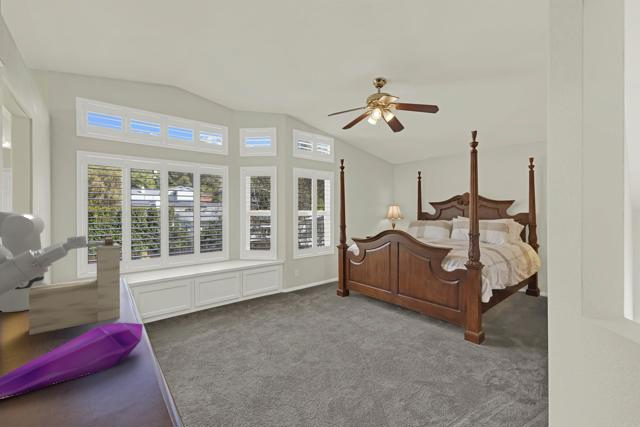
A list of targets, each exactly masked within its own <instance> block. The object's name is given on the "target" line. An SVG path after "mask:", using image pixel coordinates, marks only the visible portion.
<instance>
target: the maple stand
mask: <svg viewBox="0 0 640 427" xmlns="http://www.w3.org/2000/svg"><path fill="white" fill-rule="evenodd" d="M113 241H114V239H113V237H108V236H107V237H104V242H106V245H100V246H96V279H89V280H88V279H87V280H80V281H78V280H77V281H70V282H63V283H55V284H54V283H53V284H48V285H44V286H36V287H31V289H30V290H29V309H28V324H29V325H28V335H36V334H41V333H45V332H51V331H52V332H53V331H58V330H62V329H66V328H72V327H77V326H82V325H88V324H93V323H97V322H103V321H108V320H113V319H118V318H120V317H121V291H120V290H121V282H120V281H121V278H120V277H121V273H120V272H121V271H120V270H121V268H120V267H121V264H120V263H121V262H120V251H121V250H120V248H121V247H120V246H121V244H119V243H114V244H113Z"/></svg>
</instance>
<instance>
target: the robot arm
mask: <svg viewBox="0 0 640 427" xmlns="http://www.w3.org/2000/svg"><path fill="white" fill-rule="evenodd" d="M44 229H45V222H44V220H43V218H42V217H40V216H39V215H37V214H34V213H29V212H20V211H11V210H3V209H2V210H0V238H1V243H0V310H1V311H2V312H1V313H14V312H22V311H27V310H28V311H29V290H30V289H31V287H36V286H44V285H49V283H47V282H46V281H45V273H47V272H49V269H48V268H49V267H51V266H52V265H53V263H54V262H57V261H59V260H61V259H63V258H64V257H66V256H67V255H68V254H69V251H72V250H73V248H74V247H76V246H78V245H79V244H81V241H80V240H79V239H77V240H75V241H73V242H71V243H69V244H68V242H64V241H61V242H57V243H55V244H51V245H50V246H46V247H44V248H42V242H41V234H42V233H43V231H44Z"/></svg>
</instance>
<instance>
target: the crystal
mask: <svg viewBox="0 0 640 427" xmlns="http://www.w3.org/2000/svg"><path fill="white" fill-rule="evenodd" d="M143 326H144V324H143V323H133V322H130V323H129V322H122V321H121V322H115V323H109V324H108V323H107V324H104V325H98V326H96V327H95V328H93V329H91V330H89V331H87V332H85V333H82V334H81V335H79V336H78V337H75V338H74V339H71V340H70V341H68V342H66V343H64V344H61V345H60V346H58V347H56V348H54V349H52V350H51V351H48V352H46V353H44V354H42V355H40V356H38V357H36V358H35V359H33V360H31V361H29V362H27V363H25V364H23V365H21V366H20V367H18V368H16V369H14V370H12V371H9V372H7V373H6V374H4V375H2V376H0V398H2V397H6V396H11V395H16V394H20V393H23V394H25V393H24V392H26V393H28V392H27V391H30V392H32V391H31V390H33V391H36V390H39V389H38V388H40V389H43V388H46V387H48V386H47V385H50V384H53V383H56V382H60V381H63V380H67V379H70V380H72V379H71V378H73V379H75V378H74V377H77V378H79V377H78V376H80V377H82V376H81V375H83V376H86V375H85V374H87V375H89V374H88V373H90V374H93V373H96V371H97V372H100V371H103V370H107V369H110V368H112V367H113V366H115V365H116V364H118V363H119V362H120V361H123V360H124V359H125V358H126V357H128V356H129V355H130V354H132V352H133V351H134V349H135V348H136V347H137V346H138V345H139V343H140V342H142V336H143V329H144V328H143ZM106 368H107V369H106ZM99 370H100V371H99ZM92 372H93V373H92ZM67 381H68V380H67ZM63 382H64V381H63ZM60 383H61V382H60ZM56 384H57V383H56ZM53 385H54V384H53ZM45 386H46V387H45ZM50 386H51V385H50ZM42 387H43V388H42ZM35 389H36V390H35ZM20 395H21V394H20ZM16 396H17V395H16Z"/></svg>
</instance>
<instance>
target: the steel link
mask: <svg viewBox="0 0 640 427" xmlns="http://www.w3.org/2000/svg"><path fill="white" fill-rule="evenodd" d="M77 239H79V240H80V241H81V244H79V245H78V246H76V247H74V248H73V249H83V248H89V247H90V248H91V247H97V246H100V245H106V242H105V241H101V242H99V241H98V242H91V243H89V242H88V243H87V236H86V235H77V236H76V235H75V236H67V238H66V240H67V242H68V244H69V243H71V242H73V241H75V240H77ZM67 242H66V243H67ZM113 244H115V241H114V240H113ZM73 249H72V250H73Z"/></svg>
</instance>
